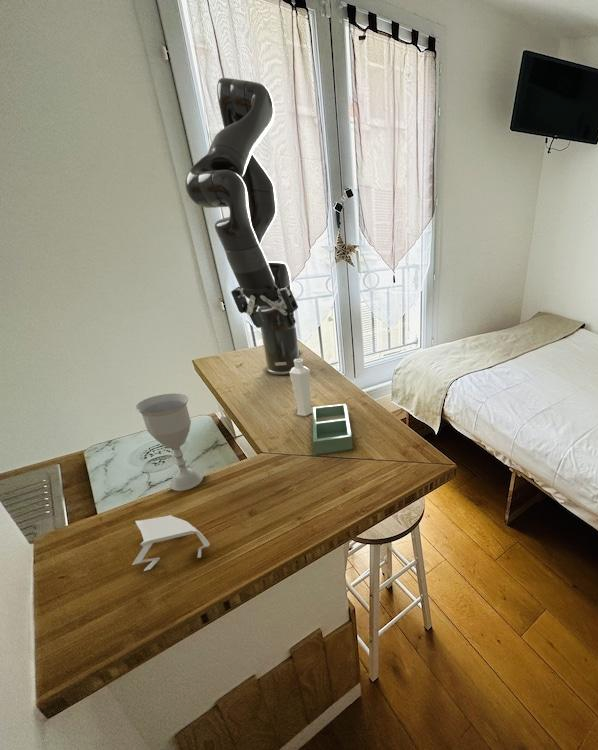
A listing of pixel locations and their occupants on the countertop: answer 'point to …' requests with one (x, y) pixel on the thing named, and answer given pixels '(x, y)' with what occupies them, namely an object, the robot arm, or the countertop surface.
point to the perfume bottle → (301, 387)
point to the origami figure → (164, 535)
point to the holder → (331, 429)
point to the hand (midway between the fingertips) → (276, 326)
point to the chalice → (171, 432)
